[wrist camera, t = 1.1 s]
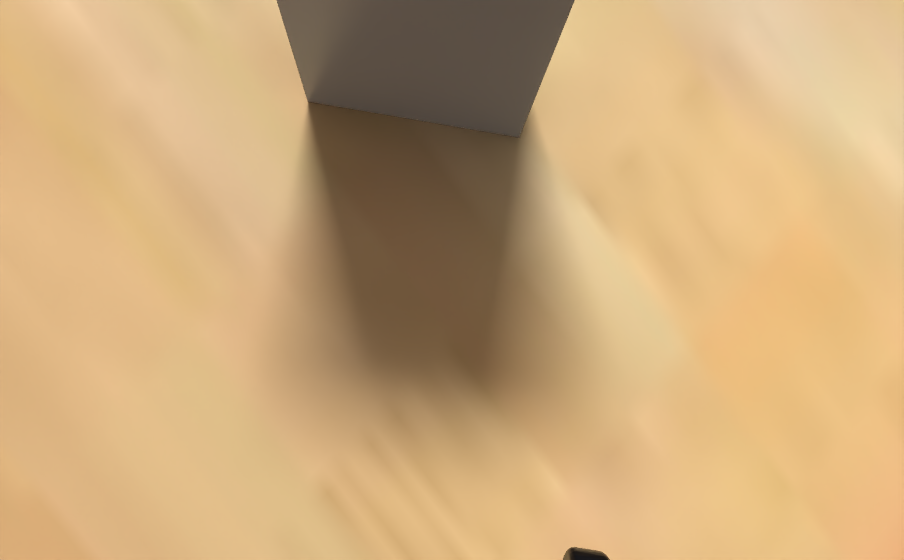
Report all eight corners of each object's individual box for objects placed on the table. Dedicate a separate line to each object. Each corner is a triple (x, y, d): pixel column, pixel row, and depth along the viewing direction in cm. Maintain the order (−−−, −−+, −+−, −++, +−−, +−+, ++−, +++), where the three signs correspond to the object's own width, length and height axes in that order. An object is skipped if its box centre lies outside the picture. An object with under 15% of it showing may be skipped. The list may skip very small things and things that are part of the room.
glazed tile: (519, 137, 23) (577, -7, 15) (307, 101, 23) (257, -64, 15) (528, 71, 24) (590, -103, 16) (320, 35, 23) (278, -159, 16)
